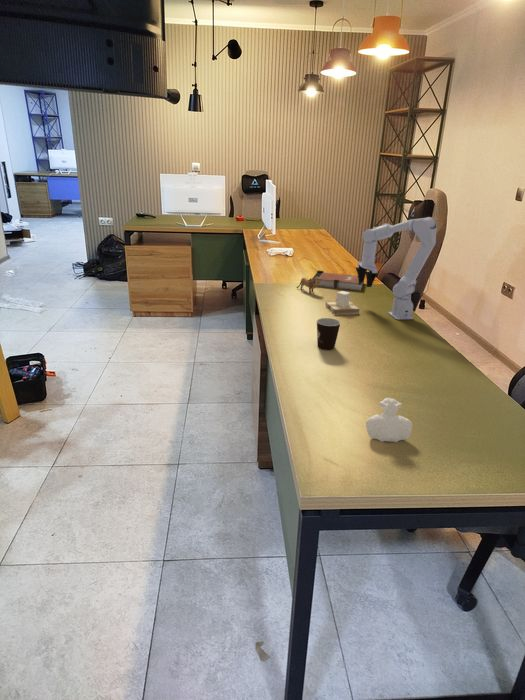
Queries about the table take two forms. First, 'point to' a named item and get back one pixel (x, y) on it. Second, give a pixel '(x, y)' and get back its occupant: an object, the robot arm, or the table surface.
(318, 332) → the coffee mug
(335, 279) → the book
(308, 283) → the lion figurine
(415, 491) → the table surface
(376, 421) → the bust
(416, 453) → the table surface
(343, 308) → the oak block
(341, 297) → the white block
